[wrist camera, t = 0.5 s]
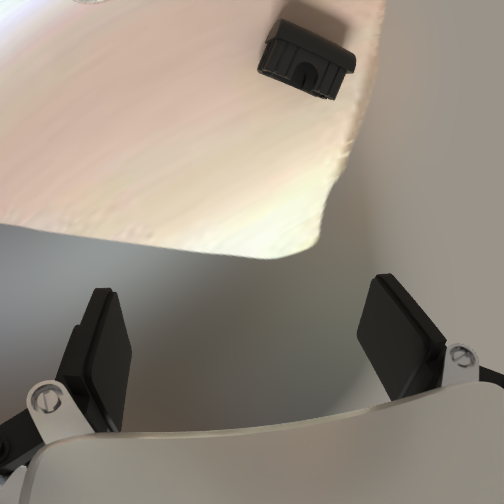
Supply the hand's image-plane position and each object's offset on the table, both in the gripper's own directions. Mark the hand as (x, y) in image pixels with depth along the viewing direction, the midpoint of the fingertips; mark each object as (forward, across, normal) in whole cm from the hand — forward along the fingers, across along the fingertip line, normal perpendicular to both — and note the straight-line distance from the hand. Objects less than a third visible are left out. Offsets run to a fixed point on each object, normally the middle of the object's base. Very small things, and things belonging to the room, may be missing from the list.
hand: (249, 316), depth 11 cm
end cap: (+33, -10, -12) cm, 37 cm away
